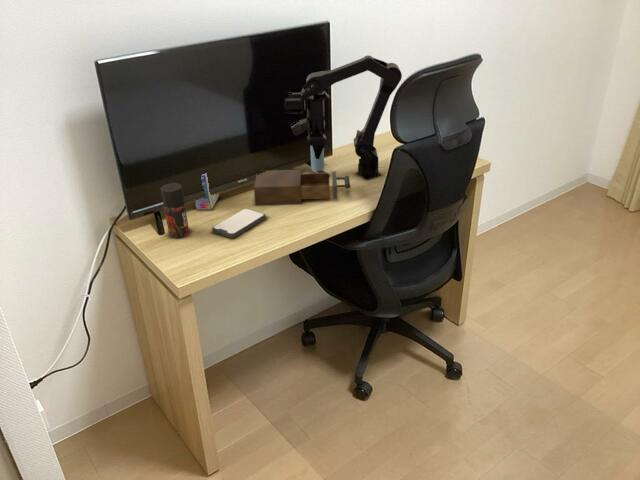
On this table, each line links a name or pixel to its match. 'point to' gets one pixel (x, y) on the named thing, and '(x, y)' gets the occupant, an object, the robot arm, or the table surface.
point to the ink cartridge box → (206, 196)
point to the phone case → (238, 223)
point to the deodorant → (175, 210)
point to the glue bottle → (317, 160)
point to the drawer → (320, 185)
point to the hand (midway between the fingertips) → (317, 156)
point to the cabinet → (278, 187)
